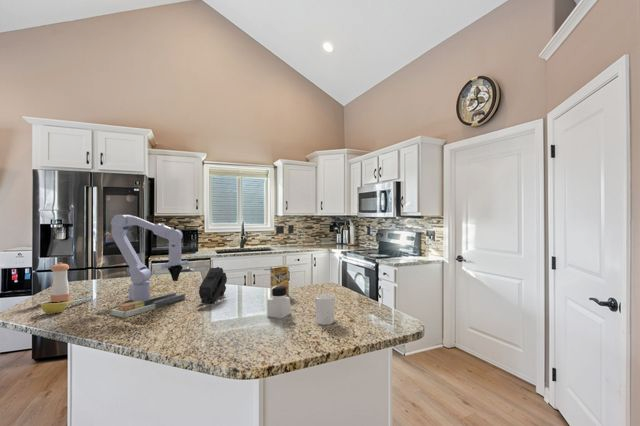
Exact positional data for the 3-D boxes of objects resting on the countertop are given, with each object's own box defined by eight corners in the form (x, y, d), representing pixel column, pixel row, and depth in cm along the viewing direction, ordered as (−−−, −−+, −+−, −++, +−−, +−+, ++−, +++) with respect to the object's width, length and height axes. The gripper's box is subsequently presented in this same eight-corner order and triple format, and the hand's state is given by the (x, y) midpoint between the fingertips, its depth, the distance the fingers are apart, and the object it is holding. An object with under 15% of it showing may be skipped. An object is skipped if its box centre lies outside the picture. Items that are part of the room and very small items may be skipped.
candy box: (273, 298, 154) (273, 268, 154) (270, 296, 158) (270, 266, 158) (289, 295, 159) (288, 266, 159) (285, 293, 163) (285, 265, 163)
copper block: (118, 314, 128) (118, 305, 128) (128, 311, 131) (128, 302, 131) (124, 316, 126) (124, 306, 126) (134, 313, 130) (134, 303, 130)
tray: (110, 316, 127) (110, 309, 127) (141, 308, 139) (141, 301, 139) (124, 320, 123) (124, 312, 123) (155, 310, 135) (155, 303, 135)
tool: (230, 288, 163) (224, 264, 155) (215, 318, 145) (207, 293, 137) (218, 287, 164) (211, 263, 156) (202, 318, 146) (193, 293, 138)
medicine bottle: (290, 313, 129) (290, 285, 129) (281, 319, 123) (281, 289, 123) (276, 311, 132) (276, 284, 132) (266, 316, 126) (266, 287, 126)
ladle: (33, 315, 127) (35, 301, 129) (82, 310, 153) (84, 298, 154) (54, 314, 127) (56, 300, 129) (99, 309, 153) (101, 297, 154)
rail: (141, 307, 139) (141, 300, 139) (172, 299, 154) (172, 292, 154) (156, 310, 135) (156, 302, 135) (186, 301, 149) (186, 294, 149)
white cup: (320, 327, 114) (320, 300, 114) (311, 320, 121) (311, 295, 121) (338, 323, 118) (338, 297, 118) (328, 317, 125) (328, 293, 125)
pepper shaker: (61, 302, 148) (61, 263, 148) (46, 302, 148) (46, 263, 149) (73, 298, 156) (73, 261, 156) (59, 298, 156) (59, 261, 156)
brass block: (129, 312, 131) (129, 302, 131) (138, 309, 135) (138, 300, 135) (134, 313, 129) (134, 303, 129) (143, 310, 133) (143, 301, 133)
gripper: (167, 255, 145) (167, 284, 145) (192, 252, 158) (192, 278, 158) (157, 255, 148) (157, 283, 148) (183, 251, 161) (183, 277, 161)
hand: (175, 280), depth 153 cm, fingers closed
